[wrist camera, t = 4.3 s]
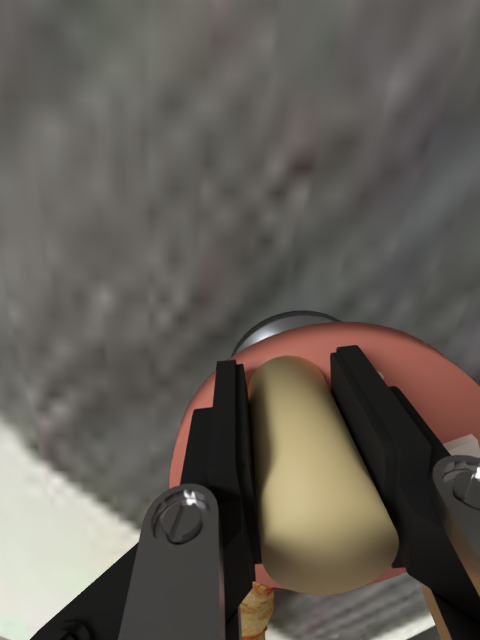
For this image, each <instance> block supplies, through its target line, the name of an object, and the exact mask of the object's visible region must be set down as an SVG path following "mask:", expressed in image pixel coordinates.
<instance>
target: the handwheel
mask: <svg viewBox="0 0 480 640" xmlns="http://www.w3.org/2000/svg"><path fill="white" fill-rule="evenodd" d="M351 345H358V346H359V348H360V349H361V350H362V352H363V353H364V354H365V356H366V357H367V358H368V360H369V361H370V363H371V364H372V365H373V367H374V368H375V369H376V371H377V372H378V374H379V375H380V376H381V378H382V379H383V380H384V382H385V383H386V384H387V386H388V387H390V386H396V387H398V388H399V389H400V390H401V391H402V393H403V394H404V395H405V397H406V398H407V399H408V400H409V402H410V403H411V404H412V406H413V407H414V408H415V409H416V411H417V412H418V413H419V415H420V416H421V417H422V418H423V420H424V421H425V422H426V424H427V425H428V426H429V427H430V429H431V430H432V431H433V433H434V434H435V435H436V436H437V438H438V439H439V440H440V442H441V443H442V444H443V445H444V447H445V448H446V449H447V451H448V452H449V453H450V454H451V456H453V455H469V456H473V457H477V458H480V386H479V385H478V384H477V383H476V382H474V381H473V380H472V379H471V378H470V377H469V376H468V375H466V374H465V373H464V372H463V371H462V370H461V369H459V368H458V367H457V366H456V365H454V364H453V363H452V362H451V361H450V360H448V359H447V358H446V357H445V356H443V355H442V354H441V353H440V352H439V351H437V350H436V349H435V348H433V347H431V346H430V345H428V344H427V343H425V342H423V341H422V340H420V339H418V338H416V337H414V336H411V335H409V334H407V333H404V332H402V331H399V330H395V329H392V328H388V327H385V326H381V325H375V324H367V323H360V322H329V323H320V324H311V325H307V326H302V327H298V328H293V329H289V330H286V331H283V332H280V333H278V334H275V335H272V336H269V337H267V338H265V339H263V340H261V341H259V342H257V343H254V344H252V345H250V346H248V347H246V348H245V349H243V350H242V351H240V352H239V353H237V354H236V355H234V356H233V357H231V358H230V359H228V360H235V359H236V363H237V364H242V363H243V365H244V371H245V378H246V384H247V391H248V398H249V407H250V419H251V432H252V444H253V457H254V469H255V481H256V494H257V506H258V519H259V531H260V544H261V556H262V563H263V564H256V565H255V573H256V583H259V584H263V585H267V586H271V587H276V588H282V589H289V590H292V591H296V592H299V593H304V594H312V595H330V594H338V593H343V592H347V591H351V590H354V589H357V588H360V587H362V586H364V585H368V584H372V583H376V582H380V581H383V580H386V579H389V578H392V577H395V576H398V575H400V574H402V573H405V572H407V571H406V569H405V567H403V568H393V569H392V566H391V564H392V563H393V561H394V559H395V557H396V555H397V552H398V548H399V538H398V534H397V531H396V529H395V527H394V525H393V523H392V521H391V519H390V517H389V514H388V512H387V510H386V508H385V506H384V504H383V502H382V500H381V497H380V495H379V493H378V491H377V489H376V487H375V485H374V483H373V481H372V478H371V476H370V474H369V472H368V470H367V468H366V466H365V464H364V461H363V459H362V457H361V455H360V453H359V451H358V449H357V447H356V445H355V442H354V440H353V438H352V436H351V434H350V432H349V430H348V428H347V425H346V423H345V421H344V419H343V417H342V415H341V413H340V411H339V409H338V406H337V404H336V402H335V400H334V398H333V396H332V394H331V374H330V354H331V353H334V352H336V349H337V347H342V346H351ZM215 377H216V371H214V372H213V373H212V374H211V375H210V377H209V378H208V379H207V380H206V381H205V382H204V383H203V384H202V386H201V387H200V388H199V389H198V391H197V392H196V394H195V395H194V397H193V398H192V400H191V401H190V403H189V405H188V407H187V409H186V412H185V414H184V416H183V418H182V421H181V425H180V428H179V432H178V435H177V440H176V445H175V450H174V454H173V459H172V464H171V472H170V481H169V483H170V489H171V488H172V487H175V486H178V485H180V480H181V474H182V469H183V463H184V458H185V452H186V447H187V441H188V436H189V430H190V425H191V419H192V414H193V410H194V409H200V408H208V407H213V397H214V387H215Z"/></svg>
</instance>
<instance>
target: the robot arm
mask: <svg viewBox="0 0 480 640" xmlns="http://www.w3.org/2000/svg"><path fill="white" fill-rule="evenodd" d="M330 374H331V394H332V396H333V398H334V400H335V402H336V404H337V406H338V409H339V411H340V413H341V415H342V417H343V419H344V421H345V423H346V425H347V428H348V430H349V432H350V434H351V436H352V438H353V440H354V442H355V445H356V447H357V449H358V451H359V453H360V455H361V457H362V459H363V461H364V464H365V466H366V468H367V470H368V472H369V474H370V476H371V478H372V481H373V483H374V485H375V487H376V489H377V491H378V493H379V495H380V497H381V500H382V502H383V504H384V506H385V508H386V510H387V512H388V514H389V517H390V519H391V521H392V523H393V525H394V527H395V529H396V531H397V534H398V538H399V548H398V552H397V555H396V557H395V559H394V561H393V563H392V564H391V566H392V569H393V568H403V567H405V569H406V571H407V573H408V574H409V575H410V576H412V577H413V578H415V579H416V580H418V581H419V582H420V584H421V588H422V592H423V595H424V597H425V599H426V602H427V604H428V607H429V609H430V612H431V614H432V617H433V619H434V622H435V624H436V627H437V629H438V632H439V634H440V637H441V639H442V640H480V458H477V457H473V456H469V455H453V456H451V454H450V453H449V452H448V451H447V449H446V448H445V447H444V445H443V444H442V443H441V442H440V440H439V439H438V438H437V436H436V435H435V434H434V433H433V431H432V430H431V429H430V427H429V426H428V425H427V424H426V422H425V421H424V420H423V418H422V417H421V416H420V415H419V413H418V412H417V411H416V409H415V408H414V407H413V406H412V404H411V403H410V402H409V400H408V399H407V398H406V397H405V395H404V394H403V393H402V391H401V390H400V389H399V388H398V387H396V386H390V387H388V386H387V384H386V383H385V382H384V380H383V379H382V378H381V376H380V375H379V374H378V372H377V371H376V369H375V368H374V367H373V365H372V364H371V363H370V361H369V360H368V358H367V357H366V356H365V354H364V353H363V352H362V350H361V349H360V348H359V346H358V345H351V346H342V347H337V349H336V352H334V353H331V354H330ZM256 564H263V563H262V556H261V544H260V531H259V519H258V506H257V494H256V481H255V469H254V457H253V444H252V432H251V419H250V407H249V398H248V391H247V384H246V378H245V371H244V365H243V363H242V364H237V363H236V359H235V360H227V361H219V362H217V367H216V377H215V387H214V397H213V407H208V408H200V409H194V410H193V414H192V419H191V425H190V430H189V436H188V441H187V447H186V452H185V458H184V463H183V469H182V474H181V480H180V485H178V486H175V487H172V488H171V489H169V490H167V491H165V492H163V493H162V494H161V495H160V496H159V497H158V498H157V499H155V500H154V502H153V503H152V504H151V506H150V507H149V509H148V510H147V512H146V515H145V518H144V521H143V525H142V529H141V534H140V539H139V542H138V543H137V544H136V545H135V546H134V547H132V548H131V549H130V550H129V551H128V552H127V553H126V554H124V555H123V556H122V557H121V558H120V559H119V560H118V561H117V562H115V563H114V564H113V565H112V566H111V567H110V568H109V569H107V570H106V571H105V572H104V573H103V574H102V575H101V576H100V577H98V578H97V579H96V580H95V581H94V582H93V583H92V584H90V585H89V586H88V587H87V588H86V589H85V590H84V591H83V592H81V593H80V594H79V595H78V596H77V597H76V598H75V599H74V600H72V601H71V602H70V603H69V604H68V605H67V606H66V607H64V608H63V609H62V610H61V611H60V612H59V613H58V614H57V615H55V616H54V617H53V618H52V619H51V620H50V621H49V622H47V623H46V624H45V625H44V626H43V627H42V628H41V629H40V630H39V631H38V632H37V633H36V634H35V635H34V636H33V637H32V638H31V639H30V640H242V627H241V610H240V604H241V603H242V601H243V600H244V599H245V597H246V596H247V595H248V594H249V592H250V591H251V590H252V588H253V582H256V573H255V565H256Z"/></svg>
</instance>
